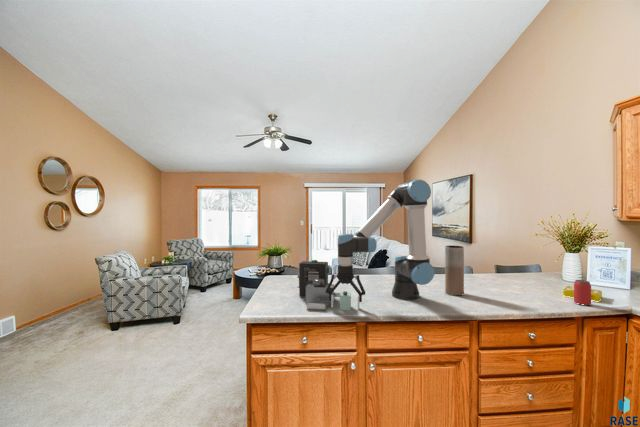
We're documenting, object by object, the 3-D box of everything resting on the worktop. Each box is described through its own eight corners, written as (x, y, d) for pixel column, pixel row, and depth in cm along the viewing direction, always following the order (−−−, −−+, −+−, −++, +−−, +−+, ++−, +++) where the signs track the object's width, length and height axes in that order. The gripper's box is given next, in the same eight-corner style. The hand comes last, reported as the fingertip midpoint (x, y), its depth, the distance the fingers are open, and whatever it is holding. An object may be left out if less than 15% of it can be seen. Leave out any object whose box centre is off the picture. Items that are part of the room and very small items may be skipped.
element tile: (599, 303, 151) (599, 294, 151) (562, 297, 163) (562, 289, 163) (602, 298, 161) (602, 289, 161) (567, 292, 172) (567, 284, 172)
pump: (350, 306, 146) (350, 289, 146) (350, 310, 140) (349, 293, 140) (341, 306, 147) (341, 289, 147) (339, 310, 141) (339, 292, 141)
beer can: (587, 307, 145) (587, 283, 145) (571, 303, 150) (571, 280, 151) (593, 305, 148) (593, 281, 148) (577, 301, 154) (577, 279, 154)
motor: (341, 301, 155) (341, 278, 155) (338, 311, 139) (338, 286, 139) (309, 299, 158) (308, 277, 158) (301, 309, 142) (301, 285, 142)
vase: (464, 292, 171) (464, 246, 171) (462, 296, 163) (462, 247, 163) (446, 290, 176) (446, 245, 176) (444, 294, 168) (443, 246, 168)
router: (328, 298, 161) (328, 262, 161) (296, 296, 165) (296, 261, 165) (330, 294, 169) (330, 260, 169) (300, 292, 173) (300, 259, 173)
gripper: (370, 264, 145) (370, 306, 145) (322, 262, 150) (322, 304, 150) (370, 266, 138) (370, 311, 138) (319, 265, 142) (319, 308, 142)
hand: (345, 307), depth 144 cm, fingers open, 12 cm apart
